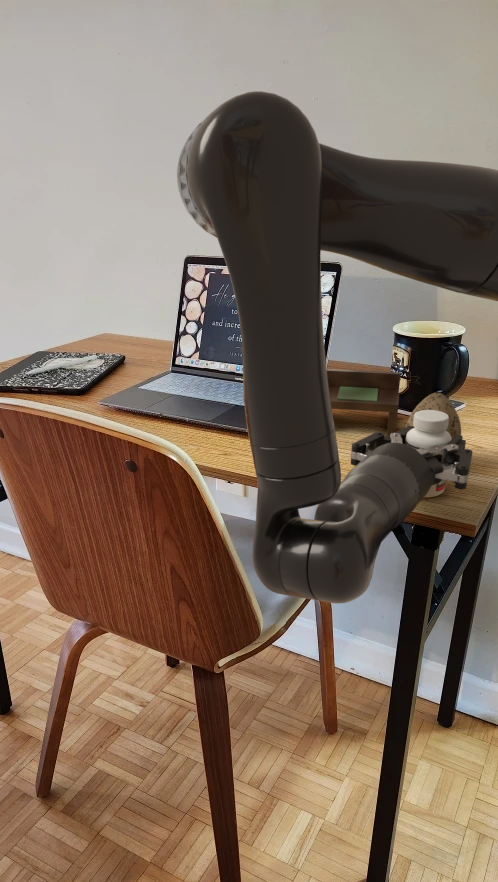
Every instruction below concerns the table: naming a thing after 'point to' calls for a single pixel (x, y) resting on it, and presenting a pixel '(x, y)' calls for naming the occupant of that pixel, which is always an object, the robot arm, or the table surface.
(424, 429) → the pill bottle
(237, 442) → the table surface
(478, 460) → the table surface
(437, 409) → the decorative egg
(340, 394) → the bench
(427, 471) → the robot arm
